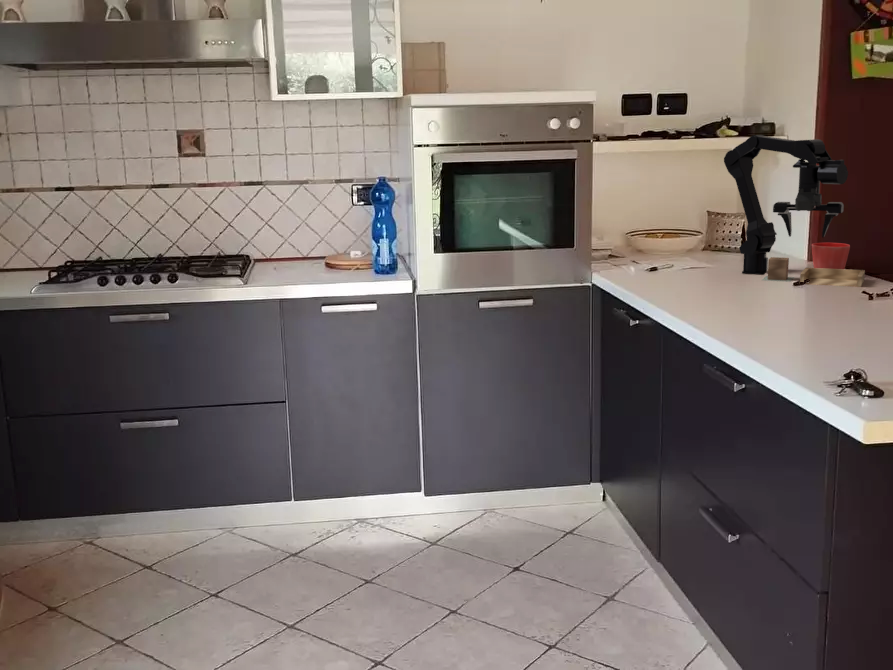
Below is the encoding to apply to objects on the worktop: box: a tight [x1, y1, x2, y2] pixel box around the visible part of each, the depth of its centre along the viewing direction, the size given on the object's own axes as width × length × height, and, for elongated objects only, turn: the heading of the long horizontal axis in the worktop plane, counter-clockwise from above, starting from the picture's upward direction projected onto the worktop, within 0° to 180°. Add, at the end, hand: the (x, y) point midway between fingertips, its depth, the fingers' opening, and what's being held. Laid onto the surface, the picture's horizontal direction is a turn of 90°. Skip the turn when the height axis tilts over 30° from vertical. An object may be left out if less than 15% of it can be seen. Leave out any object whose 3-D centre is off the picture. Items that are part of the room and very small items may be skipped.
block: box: [767, 256, 790, 280], centre depth 267 cm, size 5×5×6 cm
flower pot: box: [811, 242, 851, 269], centre depth 272 cm, size 11×11×10 cm
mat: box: [761, 275, 795, 283], centre depth 268 cm, size 8×8×1 cm
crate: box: [799, 267, 866, 288], centre depth 260 cm, size 16×12×4 cm
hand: (806, 236), depth 267 cm, fingers open, 9 cm apart
